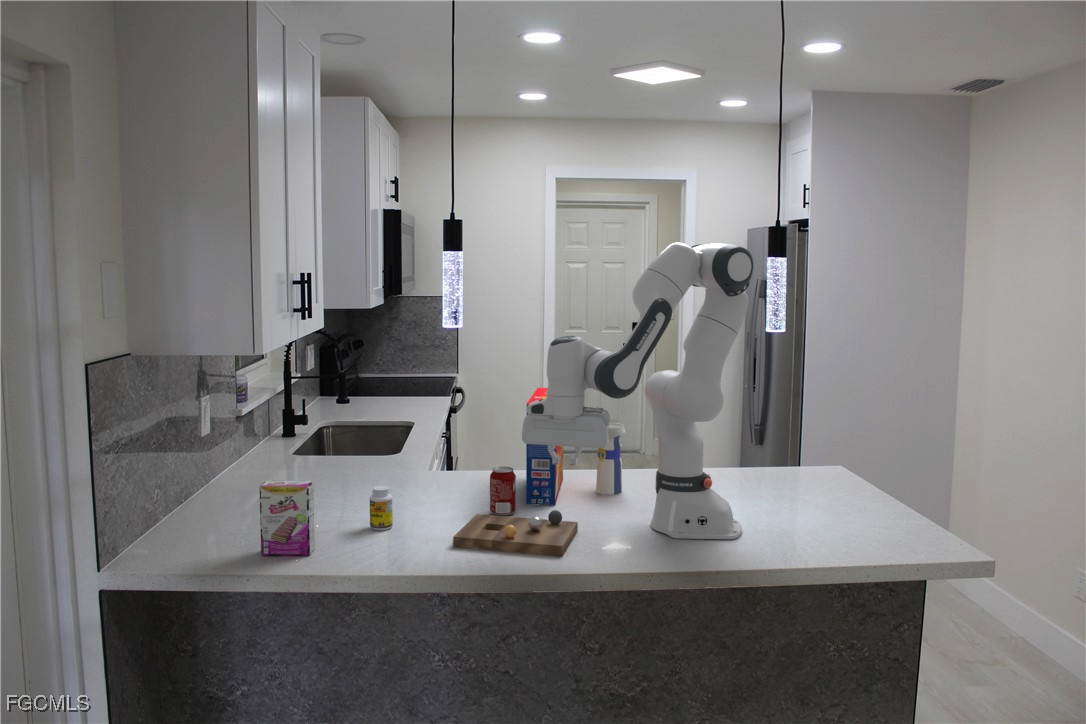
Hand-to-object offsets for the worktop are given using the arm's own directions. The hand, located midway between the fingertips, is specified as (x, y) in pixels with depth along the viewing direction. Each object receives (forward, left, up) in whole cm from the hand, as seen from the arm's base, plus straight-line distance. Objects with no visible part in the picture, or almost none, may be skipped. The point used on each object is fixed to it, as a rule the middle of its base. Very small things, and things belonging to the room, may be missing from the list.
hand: (564, 464), depth 200 cm
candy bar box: (+60, +22, -19) cm, 66 cm away
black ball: (+4, -6, -15) cm, 16 cm away
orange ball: (+12, +6, -15) cm, 20 cm away
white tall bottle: (-3, -47, -19) cm, 51 cm away
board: (+12, 0, -19) cm, 22 cm away
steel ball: (+7, 0, -15) cm, 16 cm away
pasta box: (+15, -43, -19) cm, 49 cm away
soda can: (+21, -19, -19) cm, 34 cm away
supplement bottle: (+47, 0, -19) cm, 50 cm away
